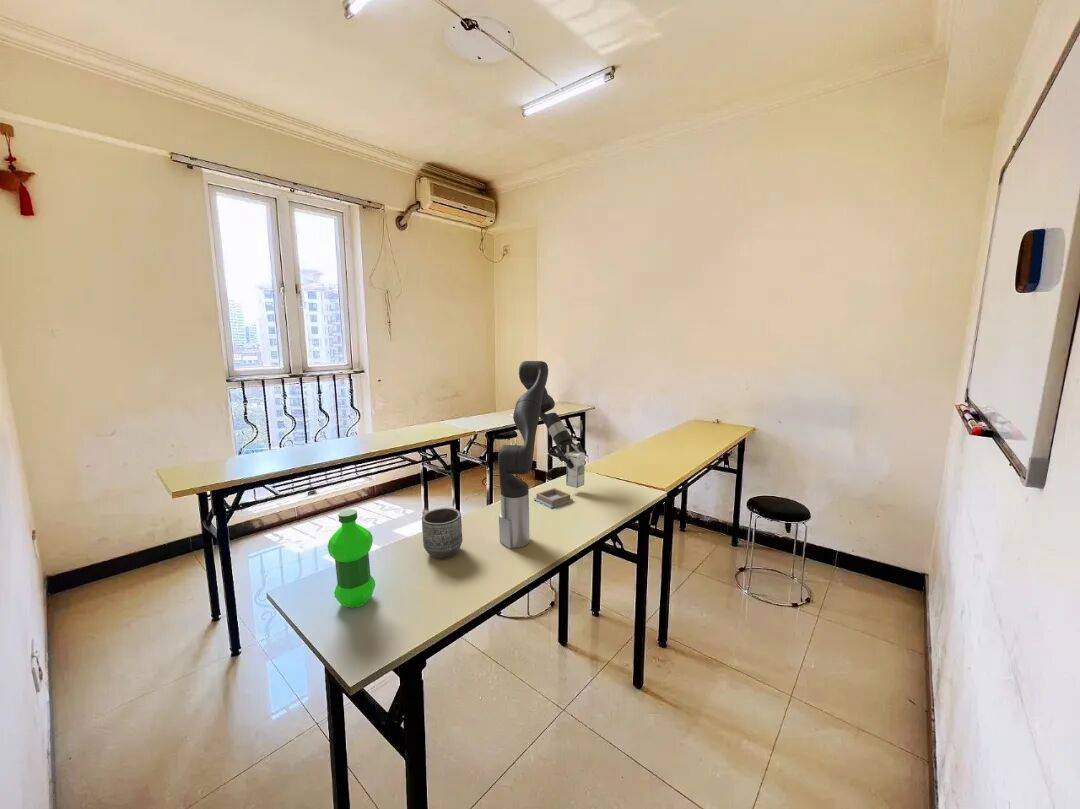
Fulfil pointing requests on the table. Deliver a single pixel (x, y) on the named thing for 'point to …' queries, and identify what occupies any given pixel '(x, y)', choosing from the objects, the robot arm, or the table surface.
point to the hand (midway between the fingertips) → (578, 466)
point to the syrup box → (576, 469)
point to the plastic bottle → (352, 561)
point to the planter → (442, 532)
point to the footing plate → (553, 497)
